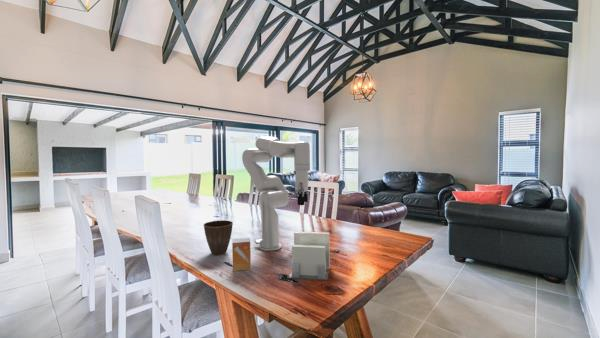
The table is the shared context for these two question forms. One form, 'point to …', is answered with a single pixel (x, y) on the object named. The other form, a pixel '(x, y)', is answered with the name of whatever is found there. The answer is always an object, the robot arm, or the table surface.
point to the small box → (241, 254)
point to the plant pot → (218, 235)
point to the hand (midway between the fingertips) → (302, 203)
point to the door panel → (308, 258)
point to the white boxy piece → (313, 240)
